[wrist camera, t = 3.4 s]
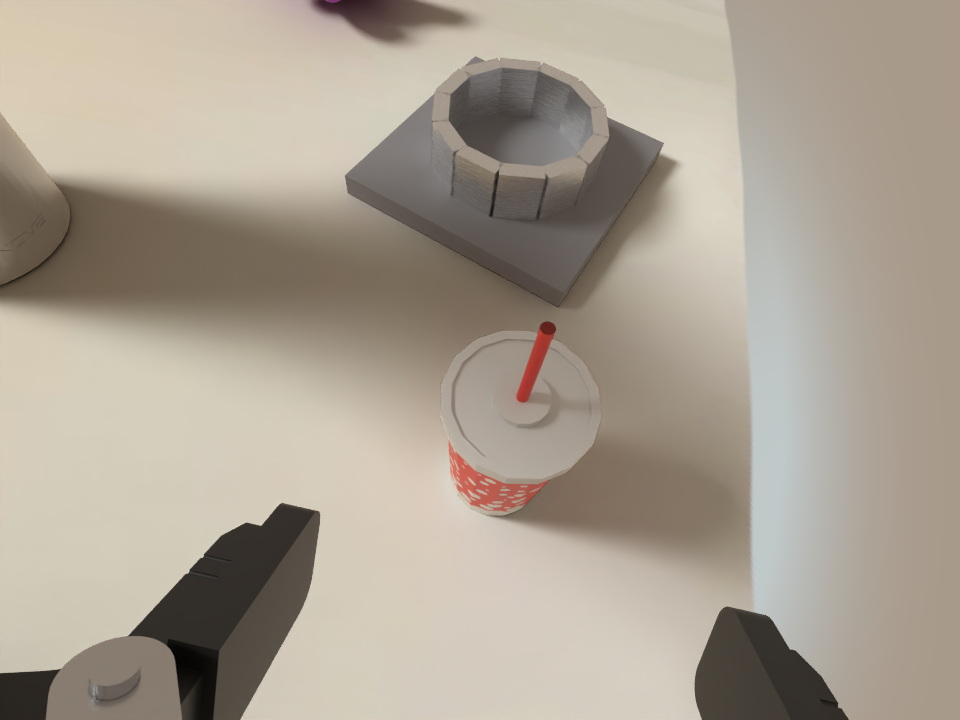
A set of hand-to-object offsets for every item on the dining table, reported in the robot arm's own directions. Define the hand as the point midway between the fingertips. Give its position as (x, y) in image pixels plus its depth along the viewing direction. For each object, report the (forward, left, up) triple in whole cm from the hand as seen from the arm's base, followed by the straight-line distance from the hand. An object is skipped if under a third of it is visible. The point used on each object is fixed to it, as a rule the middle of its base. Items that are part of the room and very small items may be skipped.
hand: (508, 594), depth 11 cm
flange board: (-13, +26, -16) cm, 33 cm away
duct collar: (-13, +26, -14) cm, 32 cm away
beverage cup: (-3, +7, -16) cm, 18 cm away
